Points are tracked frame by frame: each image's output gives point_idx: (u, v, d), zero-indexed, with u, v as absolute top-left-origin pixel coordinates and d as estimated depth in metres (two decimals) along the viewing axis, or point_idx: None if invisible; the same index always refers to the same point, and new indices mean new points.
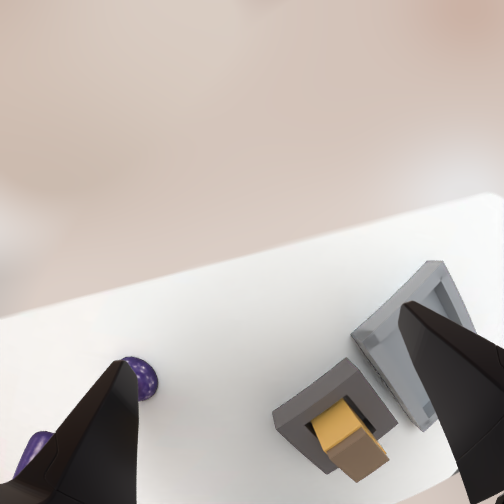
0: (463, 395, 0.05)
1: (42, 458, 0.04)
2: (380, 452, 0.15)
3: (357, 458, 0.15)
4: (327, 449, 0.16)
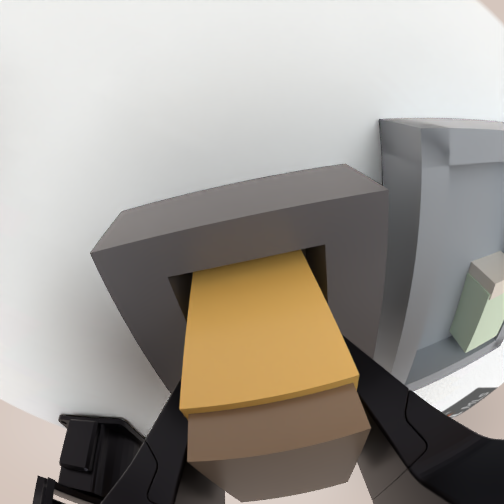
0: None
1: (137, 474, 0.04)
2: (348, 470, 0.05)
3: (284, 475, 0.04)
4: (196, 410, 0.05)
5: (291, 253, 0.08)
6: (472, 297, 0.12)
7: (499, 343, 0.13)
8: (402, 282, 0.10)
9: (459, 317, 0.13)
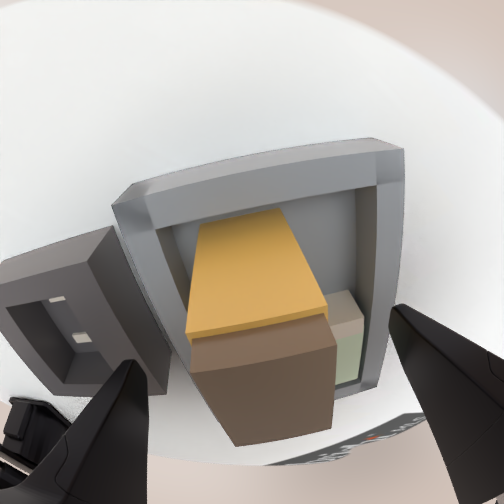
0: (452, 401, 0.05)
1: (52, 461, 0.04)
2: (328, 408, 0.07)
3: (270, 401, 0.06)
4: (198, 334, 0.06)
5: (279, 225, 0.10)
6: None
7: (373, 384, 0.15)
8: None
9: None
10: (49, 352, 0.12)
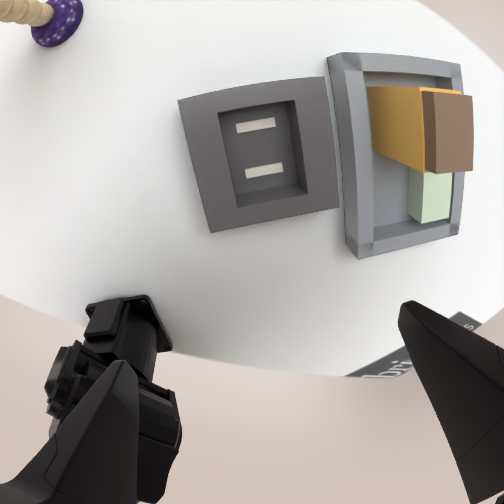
0: (463, 395, 0.05)
1: (42, 458, 0.04)
2: (471, 144, 0.11)
3: (455, 124, 0.11)
4: (423, 89, 0.11)
5: None
6: (415, 176, 0.18)
7: (456, 230, 0.20)
8: (349, 142, 0.16)
9: (411, 197, 0.20)
10: (230, 174, 0.16)
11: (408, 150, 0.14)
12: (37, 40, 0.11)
